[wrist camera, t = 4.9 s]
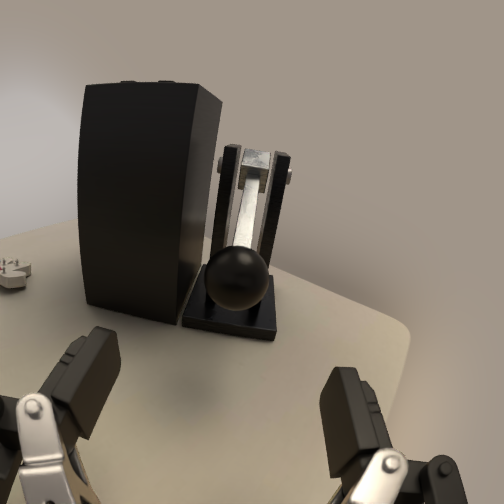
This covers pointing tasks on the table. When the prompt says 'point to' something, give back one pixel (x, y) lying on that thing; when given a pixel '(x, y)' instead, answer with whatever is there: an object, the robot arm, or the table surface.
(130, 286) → the toaster
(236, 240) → the toaster lever
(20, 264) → the game controller
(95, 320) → the table surface
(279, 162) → the lever bracket
